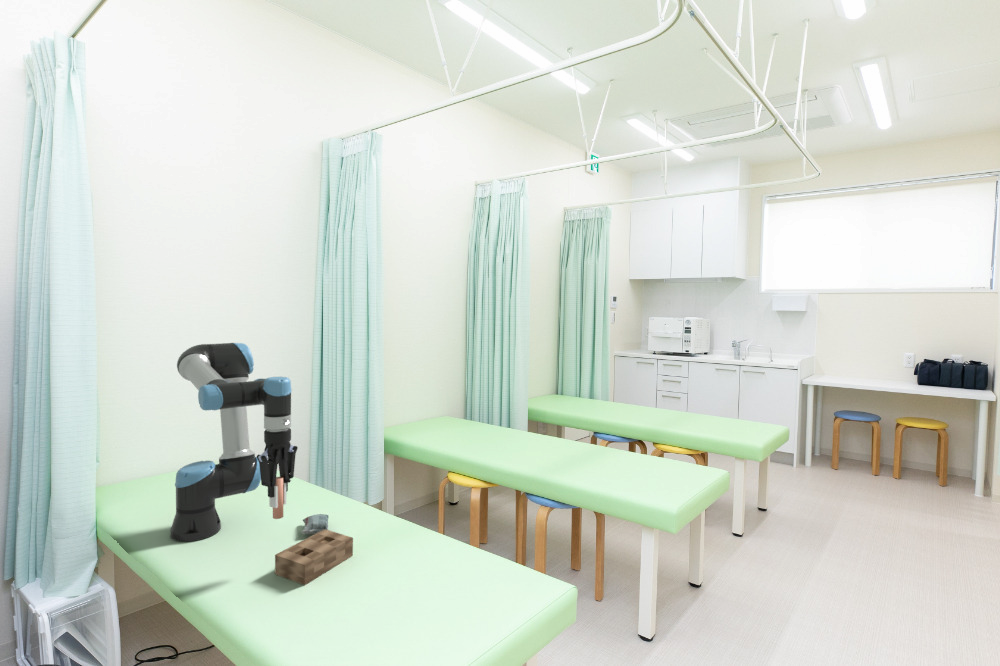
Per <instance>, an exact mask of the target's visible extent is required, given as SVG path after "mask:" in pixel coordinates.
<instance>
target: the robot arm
mask: <svg viewBox="0 0 1000 666" xmlns="http://www.w3.org/2000/svg"><path fill="white" fill-rule="evenodd" d="M254 365H255V363H254V358H253V354H252V351H251V349H250V348H249V346H248V345H247V344H246V343H242V342H228V343H224V342H223V343H202V344H197V345H193V346H191V347H189V348H186V350H185V351H183V352H182V353H181V354H180V355H179V357H178V359H177V362H176V368H177V372H178V373H179V375H180V376H181V378H182V379H185V380H187V381H189V382H190V383H192V385H193V386H194V387H195V388H196V390H197V391H198V393H197V394H198V395H197V399H198V404H199V407H200V409H201V410H203V411H219V410H220V411H219V413H220V425H221V427H220V428H221V438H222V439H221V440H222V441H221V442H222V453H221V455H220V456H219V457H218V463H217V464H216V463H215V462H214V461H212V460H200V461H195V462H192V463H191V462H190V463H189V464H186V465H184V466H182V467H181V468H180V469H177V472H176V474H175V482H174V487H175V515H174V518H173V519H172V520H173V521H172V524H171V527H170V529H169V531H170V533H169V535H170V536H169V537H170V539H172V540H173V541H175V542H183V543H184V542H195V541H200V540H201V541H202V540H204V539H208V538H210V537H213V536H214V535H216V534H217V533H219V532H220V531H221V528H222V526H221V525H222V523H221V518H220V517H219V514H218V511H217V509H216V500H217V499H221V498H225V497H229V496H234V495H240V494H246V493H248V492H249V493H250V492H252V491H255V490H256V489H257V488H259V486H260V484H261V486H263V487H267V497H268V498H269V505H268V506H269V507H270V508H272V509H273V508H277V507H278V486H275V484H276V477H277V474H278V472H279V477H283V506H285V505H287V492H288V490H289V487H288V486H289V484H290V482H291V481H292V480H291V479H293V478H294V476H295V465H296V456H297V455H296V454H297V451H298V446H297V445H292V444H291V441H292V429H291V427H292V391H293V389H292V383H291V382H292V381H291V379H290V378H289V377H286V376H270V377H267V378H257V379H254V380H250V381H248V380H249V375H250V374H252V373H253V371H254ZM260 405H263V429H264V431H263V436H264V437H263V440H264V441H263V442H264V443H265V444H264V445H265V448H264V452H262V453H261V454H257V455H256V453H255V451H253V450H252V449H251V448H250V438H249V437H250V436H249V435H250V434H249V424H248V411H247V407H251V406H252V407H253V406H260ZM278 470H279V471H278Z"/></svg>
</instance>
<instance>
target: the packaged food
mask: <svg viewBox="0 0 1000 666" xmlns="http://www.w3.org/2000/svg"><path fill="white" fill-rule="evenodd" d="M328 521H329V514H323V513H319V514H318V513H317V514H312V515H310V516H307V517H305V518H303V519H302V522H303V523H304V528H303V530H302V531H301V534H303V535H304V534H305V535H314V534H316V533H318V532H320V531H322V530H324V529H326V530H329V522H328Z"/></svg>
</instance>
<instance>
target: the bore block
mask: <svg viewBox="0 0 1000 666" xmlns="http://www.w3.org/2000/svg"><path fill="white" fill-rule="evenodd" d="M353 553H354V538H353V537H352V536H349V535H345V534H342V533H338V532H337V531H333V530H329V529H328V530H326V529H324V530H322V531H320V532H318V533H316V534H311V536H309V537H307V538H305V539H303V540H301V541H299V542H297V543H296V544H293V545H291V546H289V547H287V548H285V549H283V550H282V551H280V552H278V553H276V554H275V555H274V574H275V575H276V576H279V577H281V578H283V579H287V580H289V581H292V582H295V583H298V584H301V585H303V586H306V585H308V584H309V583H311V582H313V581H314V580H316V579H317V578H319V577H321V576H322V575H324V574H326V573H327V572H329V571H330V570H332V569H333V568H335V567H337V566H338V565H340V564H342V563H344V562H345V561H346V560H348V559H350V558H352V557H353Z"/></svg>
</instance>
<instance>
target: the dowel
mask: <svg viewBox="0 0 1000 666" xmlns="http://www.w3.org/2000/svg"><path fill="white" fill-rule="evenodd" d="M275 486H278V507H277V508H273V507H272V519H274V520H279V519H282V518H283V517H284V504H283V477H280V476H276V484H275Z"/></svg>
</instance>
